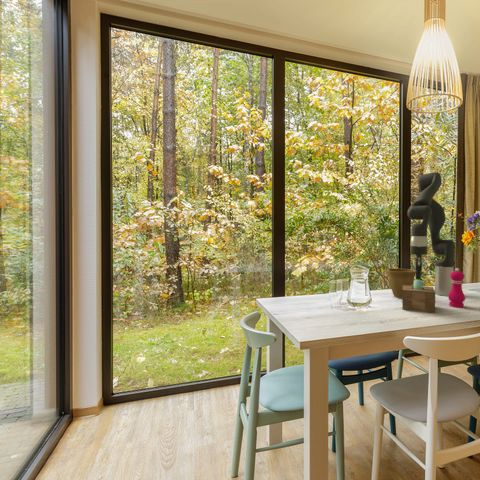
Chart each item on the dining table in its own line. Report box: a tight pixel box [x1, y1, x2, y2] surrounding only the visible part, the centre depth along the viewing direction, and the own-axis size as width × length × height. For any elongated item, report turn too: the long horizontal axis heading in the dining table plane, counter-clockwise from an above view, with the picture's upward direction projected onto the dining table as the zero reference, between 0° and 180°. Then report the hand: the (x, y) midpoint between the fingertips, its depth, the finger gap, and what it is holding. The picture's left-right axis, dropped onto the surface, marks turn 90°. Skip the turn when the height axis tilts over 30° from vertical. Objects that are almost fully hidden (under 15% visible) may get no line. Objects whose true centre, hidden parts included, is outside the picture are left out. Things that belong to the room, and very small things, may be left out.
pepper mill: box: [447, 267, 466, 309], centre depth 162 cm, size 7×7×20 cm
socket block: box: [401, 285, 436, 314], centre depth 160 cm, size 14×14×10 cm
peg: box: [413, 279, 424, 290], centre depth 160 cm, size 4×4×9 cm
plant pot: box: [386, 268, 416, 299], centre depth 184 cm, size 15×15×16 cm
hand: (418, 278), depth 160 cm, fingers closed
